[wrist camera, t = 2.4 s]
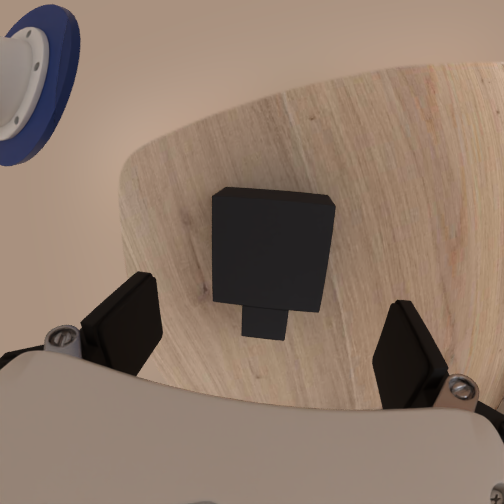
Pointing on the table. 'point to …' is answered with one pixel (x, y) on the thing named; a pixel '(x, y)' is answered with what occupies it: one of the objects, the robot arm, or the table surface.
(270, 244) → the pad
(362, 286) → the table surface
